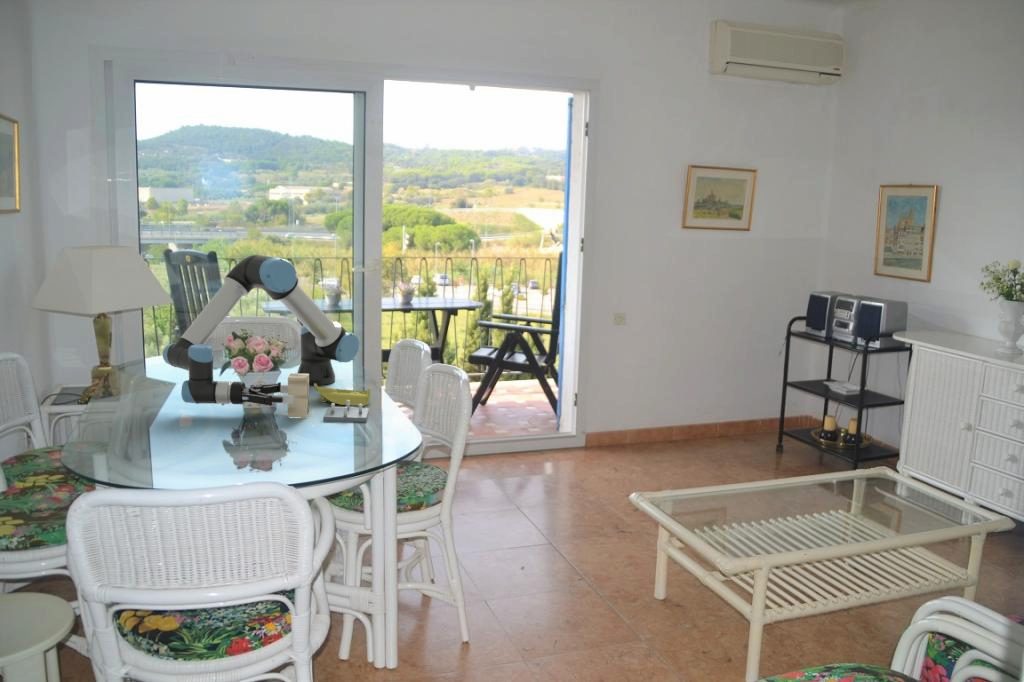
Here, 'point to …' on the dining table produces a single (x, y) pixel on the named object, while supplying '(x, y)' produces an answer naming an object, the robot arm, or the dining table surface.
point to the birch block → (298, 395)
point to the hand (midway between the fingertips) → (296, 394)
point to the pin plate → (346, 413)
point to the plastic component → (344, 396)
